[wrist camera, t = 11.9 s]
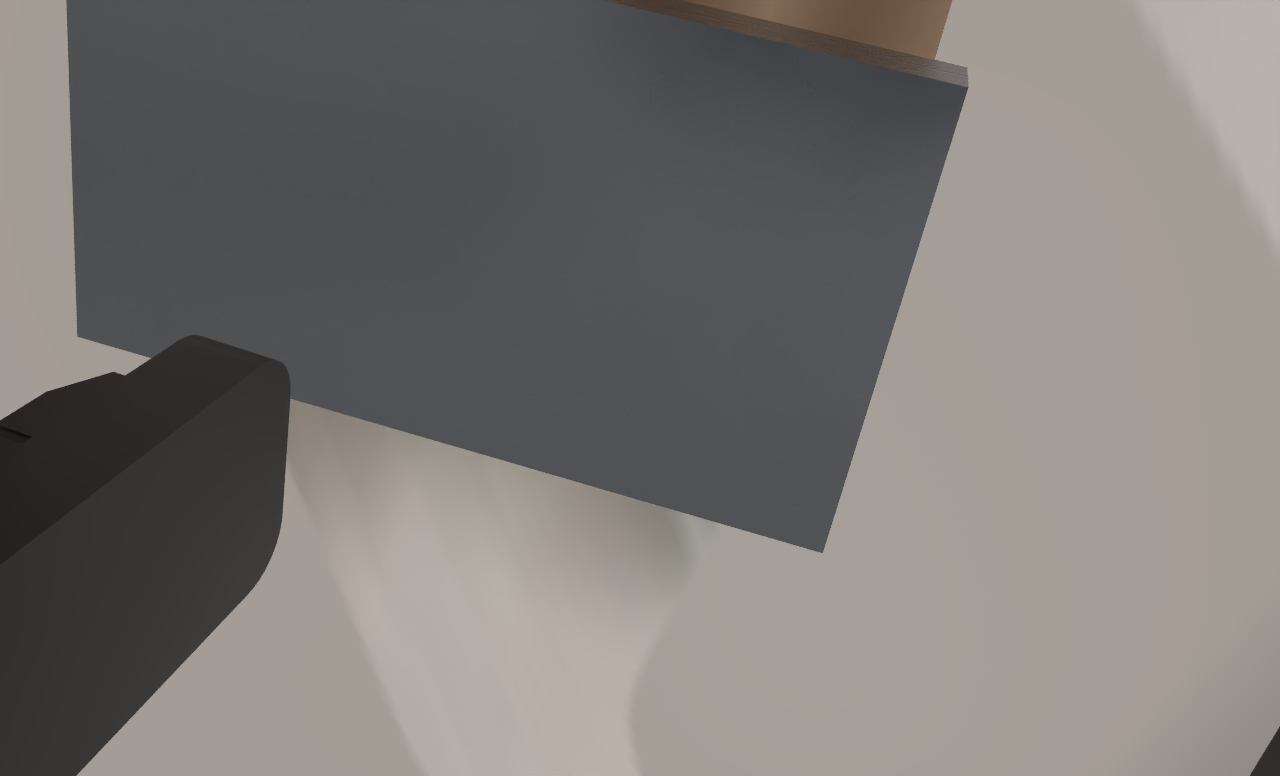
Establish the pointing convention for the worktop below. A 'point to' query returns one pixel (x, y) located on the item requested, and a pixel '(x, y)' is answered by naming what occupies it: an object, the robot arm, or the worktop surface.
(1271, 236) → the worktop surface
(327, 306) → the thin grey panel
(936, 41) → the socket block
